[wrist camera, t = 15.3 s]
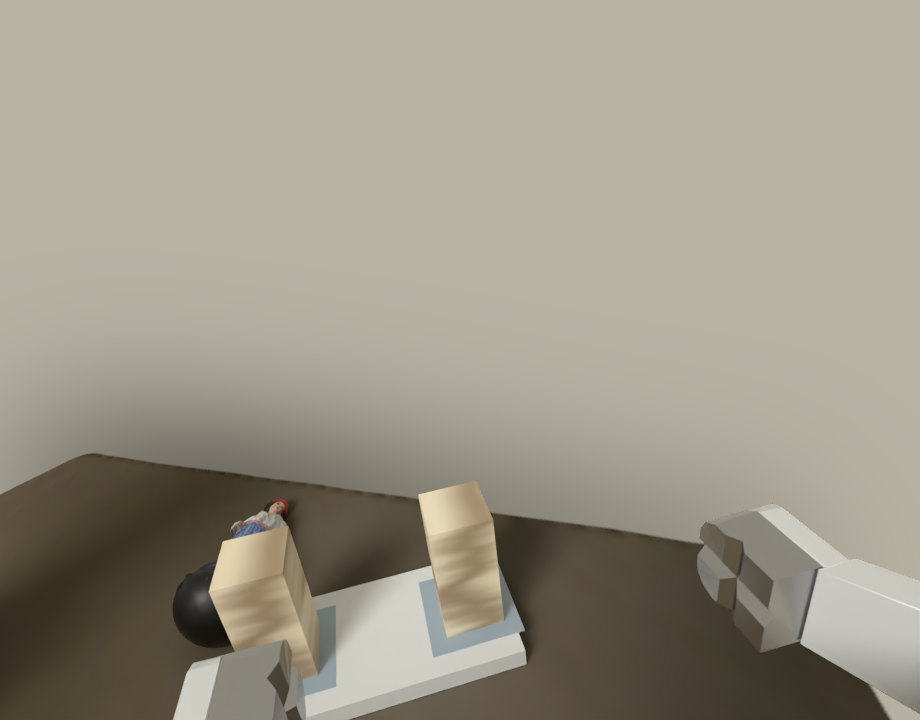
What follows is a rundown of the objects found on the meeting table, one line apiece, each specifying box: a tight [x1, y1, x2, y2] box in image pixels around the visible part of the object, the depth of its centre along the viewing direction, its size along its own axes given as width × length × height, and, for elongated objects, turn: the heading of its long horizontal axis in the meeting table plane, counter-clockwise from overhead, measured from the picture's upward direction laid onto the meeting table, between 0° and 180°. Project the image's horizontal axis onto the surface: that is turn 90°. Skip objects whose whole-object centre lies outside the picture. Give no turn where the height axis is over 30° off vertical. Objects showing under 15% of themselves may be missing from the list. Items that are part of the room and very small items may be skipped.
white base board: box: [302, 564, 527, 720], centre depth 39 cm, size 21×10×2 cm, turn 103°
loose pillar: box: [419, 481, 504, 638], centre depth 38 cm, size 4×4×10 cm
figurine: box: [173, 499, 288, 648], centre depth 47 cm, size 8×7×18 cm
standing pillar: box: [209, 526, 320, 680], centre depth 36 cm, size 4×4×10 cm
